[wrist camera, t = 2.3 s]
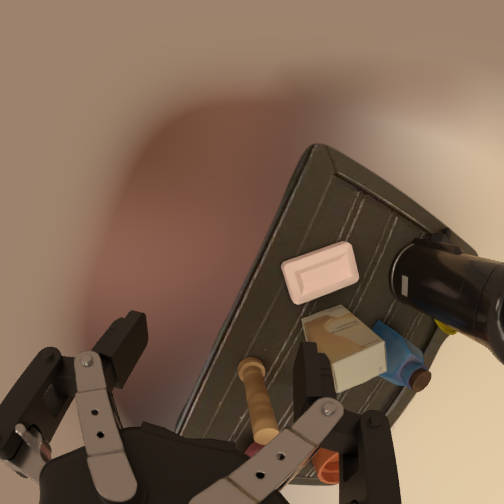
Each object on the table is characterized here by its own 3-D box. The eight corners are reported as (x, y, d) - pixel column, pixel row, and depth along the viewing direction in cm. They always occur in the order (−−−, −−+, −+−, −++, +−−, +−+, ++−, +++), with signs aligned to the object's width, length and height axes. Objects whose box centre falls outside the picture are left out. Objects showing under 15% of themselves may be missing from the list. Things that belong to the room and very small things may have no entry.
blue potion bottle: (354, 352, 38) (394, 395, 26) (378, 319, 38) (426, 353, 26) (377, 366, 39) (417, 406, 27) (400, 335, 39) (446, 368, 27)
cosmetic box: (341, 302, 37) (388, 338, 25) (346, 329, 37) (390, 370, 25) (297, 318, 36) (331, 364, 24) (304, 345, 37) (337, 395, 25)
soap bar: (279, 262, 35) (282, 265, 32) (344, 239, 35) (351, 241, 33) (291, 301, 36) (295, 307, 33) (353, 277, 36) (361, 281, 33)
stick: (247, 352, 36) (262, 420, 22) (268, 363, 37) (292, 430, 23) (233, 371, 36) (241, 442, 22) (254, 381, 37) (271, 451, 23)
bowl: (341, 412, 40) (354, 434, 34) (384, 425, 42) (398, 443, 36) (295, 458, 41) (303, 480, 35) (342, 466, 43) (351, 485, 37)
